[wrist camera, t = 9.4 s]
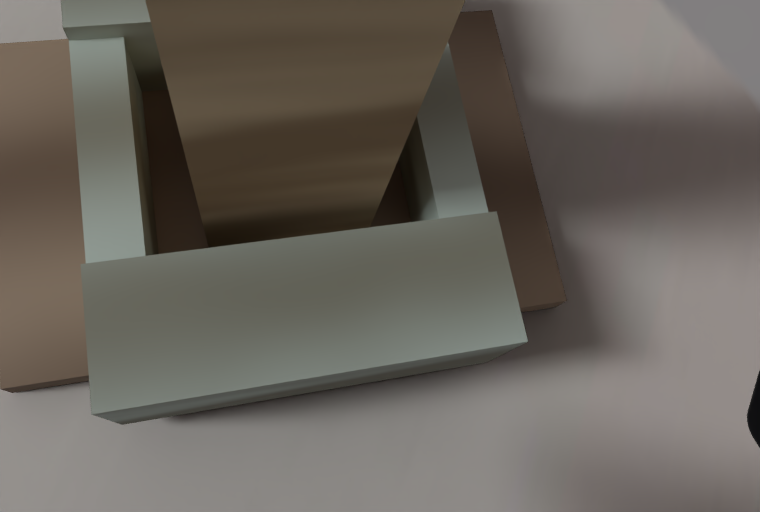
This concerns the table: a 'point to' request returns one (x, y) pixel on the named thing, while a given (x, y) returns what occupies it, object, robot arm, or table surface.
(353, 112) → the rail post
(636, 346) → the table surface
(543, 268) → the socket
